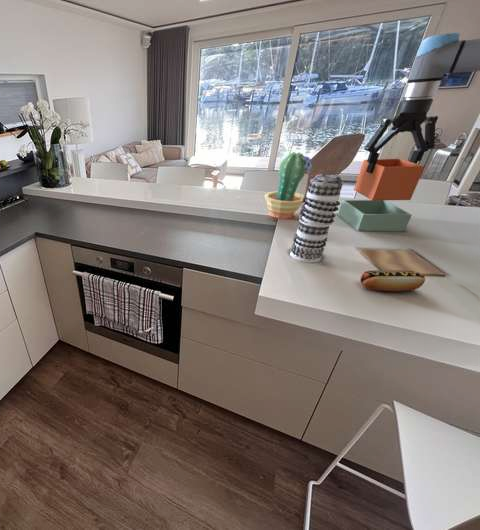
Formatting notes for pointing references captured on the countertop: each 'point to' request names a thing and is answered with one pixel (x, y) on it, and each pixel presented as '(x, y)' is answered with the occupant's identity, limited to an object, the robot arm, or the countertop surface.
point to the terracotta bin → (389, 179)
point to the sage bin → (374, 215)
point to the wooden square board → (400, 261)
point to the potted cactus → (288, 186)
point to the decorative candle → (316, 217)
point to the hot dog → (392, 280)
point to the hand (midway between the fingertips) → (388, 171)
